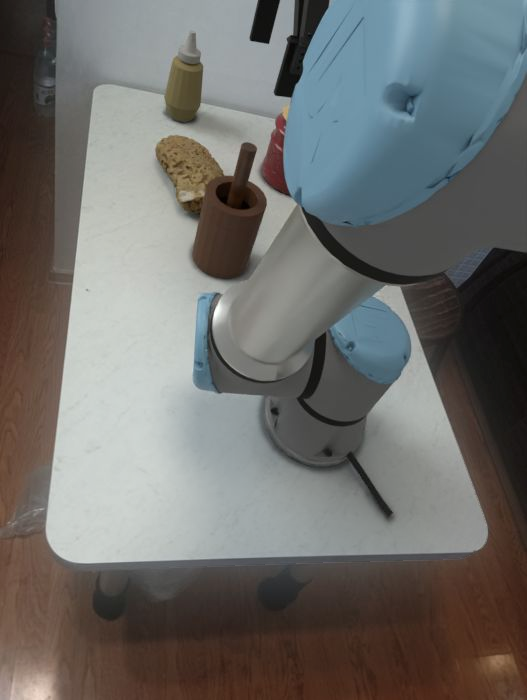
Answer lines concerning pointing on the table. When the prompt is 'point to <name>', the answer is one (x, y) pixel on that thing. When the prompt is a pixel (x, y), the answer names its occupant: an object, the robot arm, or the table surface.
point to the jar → (227, 229)
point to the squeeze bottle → (185, 82)
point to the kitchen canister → (276, 155)
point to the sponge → (187, 169)
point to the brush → (241, 175)
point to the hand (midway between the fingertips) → (271, 67)
